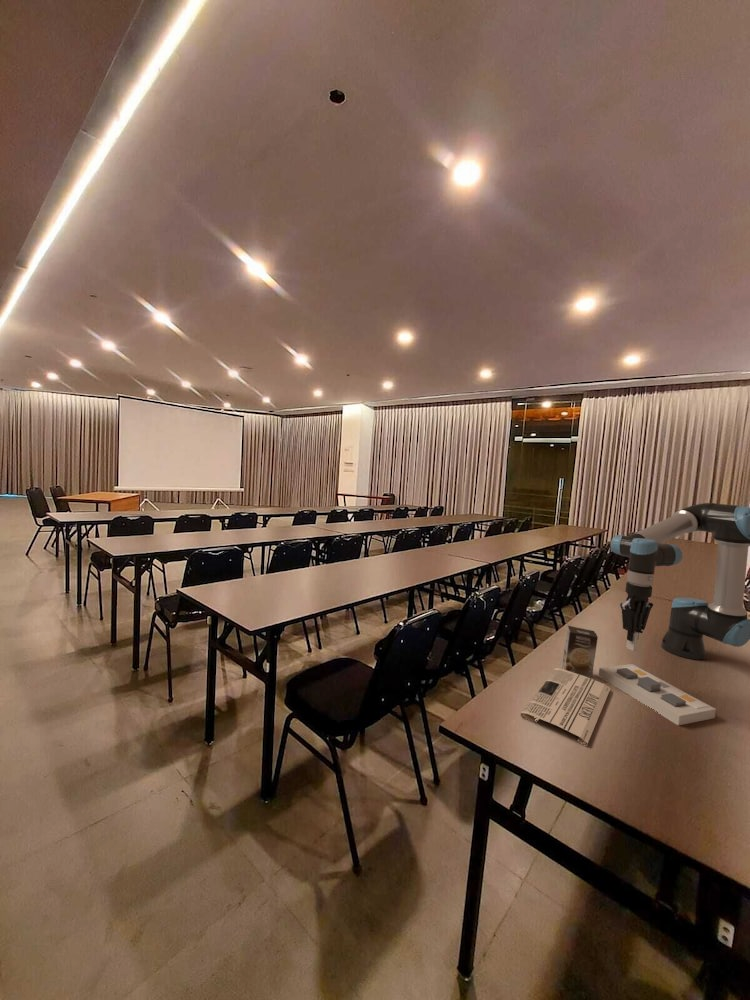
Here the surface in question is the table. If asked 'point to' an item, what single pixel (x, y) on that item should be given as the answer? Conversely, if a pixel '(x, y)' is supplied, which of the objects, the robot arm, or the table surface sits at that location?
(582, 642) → the coffee box
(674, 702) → the button
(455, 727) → the table surface
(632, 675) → the button
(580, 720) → the newspaper
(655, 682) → the middle button
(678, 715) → the button board
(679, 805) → the table surface
